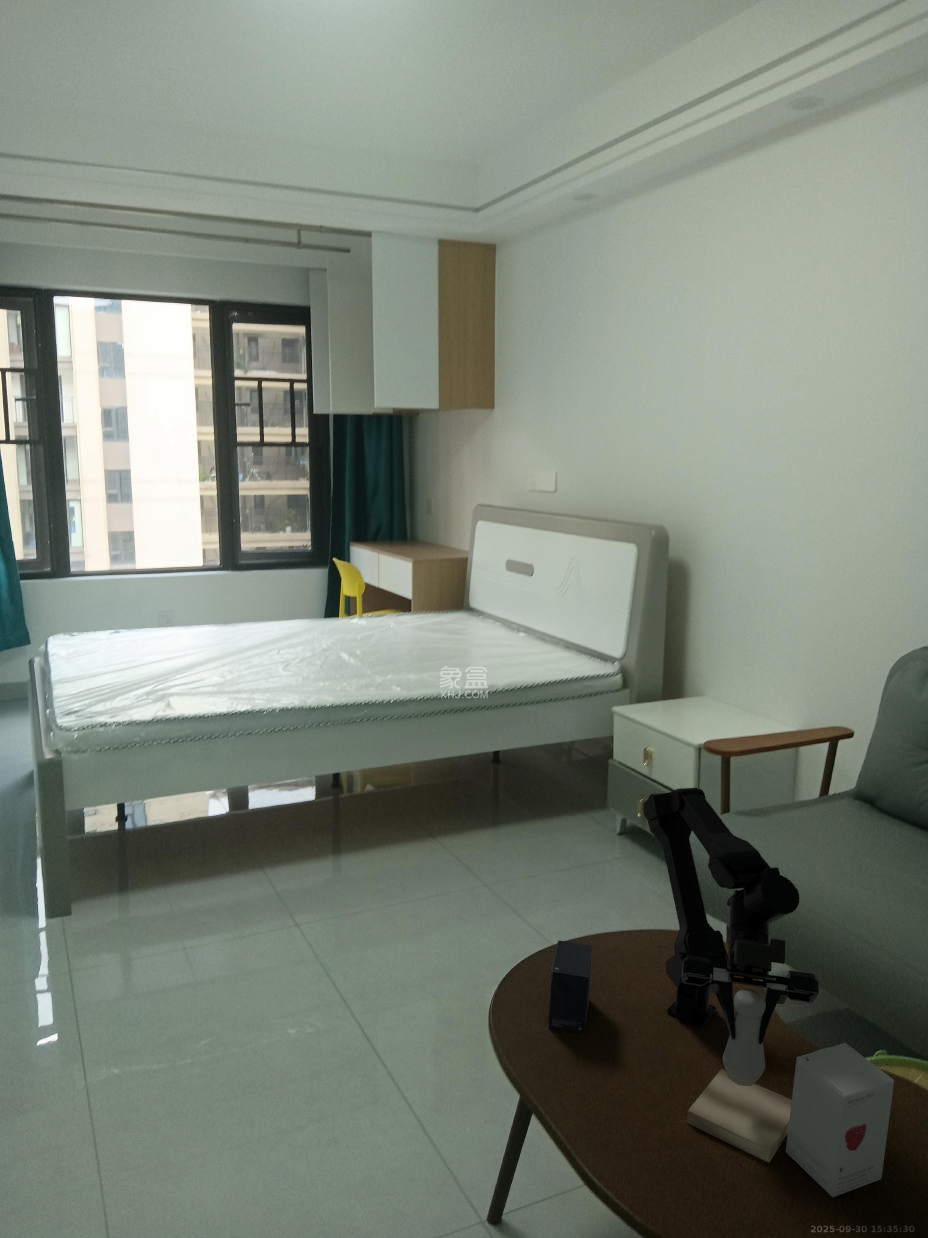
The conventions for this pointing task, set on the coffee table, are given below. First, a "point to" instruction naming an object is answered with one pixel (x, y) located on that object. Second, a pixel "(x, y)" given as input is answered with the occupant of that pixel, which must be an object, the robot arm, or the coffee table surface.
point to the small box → (570, 986)
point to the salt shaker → (746, 1040)
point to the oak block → (742, 1116)
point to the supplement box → (839, 1118)
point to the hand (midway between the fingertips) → (746, 1041)
